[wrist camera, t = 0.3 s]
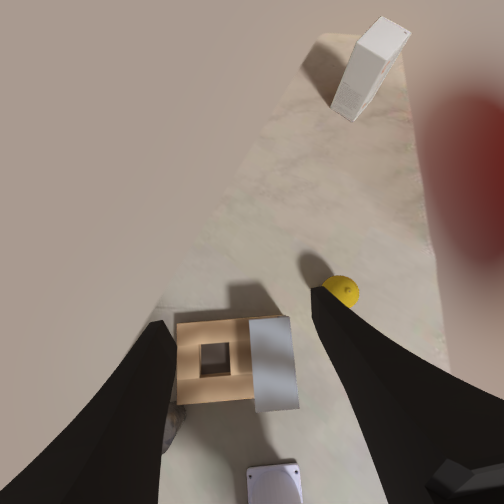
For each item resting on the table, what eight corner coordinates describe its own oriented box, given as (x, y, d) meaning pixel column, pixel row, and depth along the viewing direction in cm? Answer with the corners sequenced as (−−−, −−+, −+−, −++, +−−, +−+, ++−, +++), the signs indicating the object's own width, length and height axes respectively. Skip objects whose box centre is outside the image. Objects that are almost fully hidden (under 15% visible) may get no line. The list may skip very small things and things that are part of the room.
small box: (348, 85, 51) (381, 13, 39) (372, 100, 50) (413, 31, 38) (328, 108, 50) (355, 41, 37) (352, 123, 49) (388, 60, 36)
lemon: (309, 298, 40) (323, 296, 33) (324, 272, 42) (341, 265, 34) (336, 315, 40) (357, 318, 32) (350, 289, 41) (374, 285, 33)
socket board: (290, 389, 37) (299, 408, 30) (180, 399, 36) (165, 420, 30) (282, 314, 40) (289, 316, 33) (180, 322, 39) (166, 326, 33)
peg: (186, 425, 36) (171, 454, 29) (163, 428, 36) (142, 457, 29) (185, 400, 37) (171, 422, 30) (163, 402, 36) (143, 425, 30)
